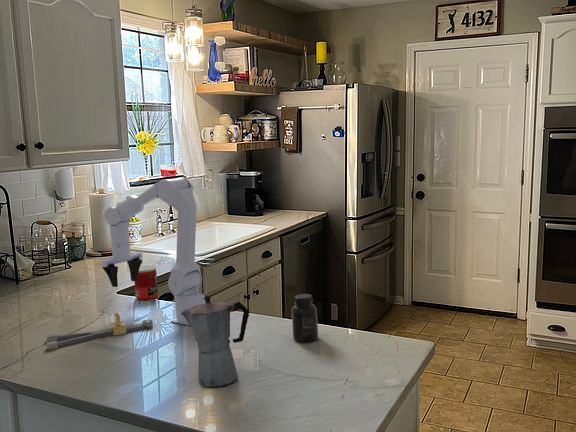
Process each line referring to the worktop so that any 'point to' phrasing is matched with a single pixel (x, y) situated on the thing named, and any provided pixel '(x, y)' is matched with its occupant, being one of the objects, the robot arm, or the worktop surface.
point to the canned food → (146, 284)
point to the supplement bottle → (304, 319)
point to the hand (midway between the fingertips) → (124, 283)
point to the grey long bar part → (90, 335)
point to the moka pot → (215, 340)
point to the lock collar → (118, 326)
